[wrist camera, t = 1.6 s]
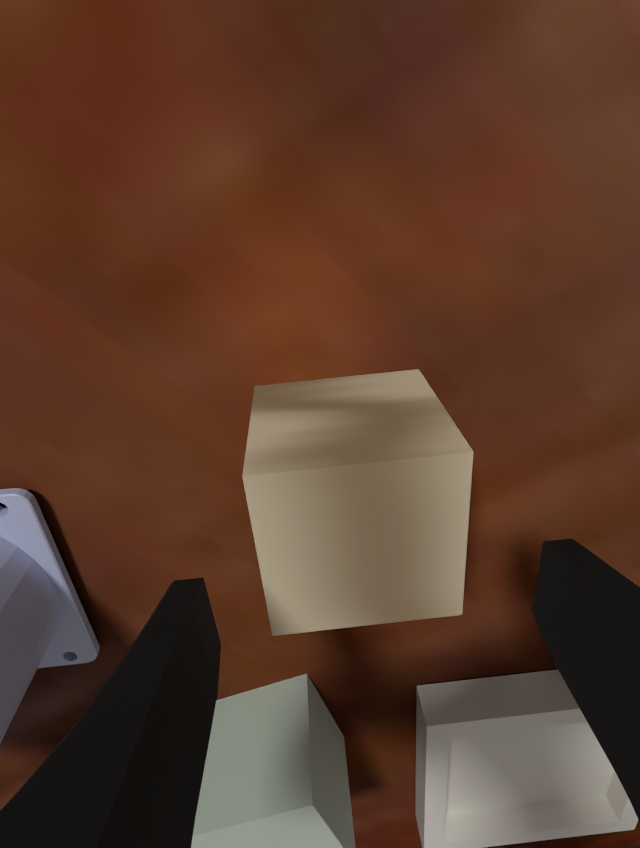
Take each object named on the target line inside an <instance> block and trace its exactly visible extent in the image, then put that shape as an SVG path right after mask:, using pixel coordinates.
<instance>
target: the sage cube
mask: <svg viewBox="0 0 640 848" xmlns="http://www.w3.org/2000/svg"><path fill="white" fill-rule="evenodd" d="M191 848H355V839H354V829H353V820H352V810H351V800H350V790H349V781H348V771H347V761H346V751H345V742H344V736H343V734H342V733H341V731H340V729H339V727H338V726H337V724H336V722H335V721H334V719H333V717H332V716H331V714H330V712H329V711H328V709H327V707H326V705H325V704H324V702H323V700H322V699H321V697H320V695H319V694H318V692H317V690H316V688H315V687H314V685H313V683H312V682H311V680H310V678H309V677H308V675H307V674H304V675H301V676H297V677H294V678H291V679H287V680H284V681H281V682H277V683H274V684H270V685H267V686H264V687H260V688H257V689H254V690H250V691H247V692H243V693H240V694H237V695H233V696H230V697H226V698H223V699H220V700H216V705H215V711H214V717H213V722H212V728H211V734H210V739H209V745H208V750H207V756H206V761H205V767H204V772H203V778H202V783H201V789H200V795H199V800H198V806H197V811H196V817H195V823H194V830H193V837H192V844H191Z"/></svg>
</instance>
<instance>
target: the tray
mask: <svg viewBox="0 0 640 848" xmlns="http://www.w3.org/2000/svg"><path fill="white" fill-rule="evenodd" d="M416 819H417V824H418V829H419V834H420V839H421V844H422V848H484V847H492V846H500V845H509V844H517V843H526V842H534V841H542V840H551V839H559V838H567V837H576V836H584V835H593V834H601V833H609V832H618V831H626V830H634V829H635V827H636V824H637V822H638V820H639V819H638V817H637V815H636V813H635V811H634V809H633V806H632V804H631V802H630V800H629V798H628V796H627V794H626V792H625V790H624V788H623V786H622V784H621V782H620V780H619V778H618V776H617V774H616V772H615V771H614V769H613V767H612V765H611V763H610V762H609V760H608V758H607V756H606V754H605V753H604V751H603V749H602V747H601V746H600V744H599V742H598V740H597V738H596V737H595V735H594V733H593V731H592V729H591V728H590V726H589V724H588V722H587V721H586V719H585V717H584V715H583V713H582V712H581V710H580V708H579V706H578V705H577V703H576V701H575V699H574V697H573V696H572V694H571V692H570V690H569V688H568V687H567V685H566V683H565V681H564V679H563V677H562V676H561V674H560V672H559V670H549V671H540V672H532V673H523V674H514V675H505V676H497V677H488V678H479V679H470V680H461V681H453V682H444V683H435V684H426V685H418V686H417V691H416Z"/></svg>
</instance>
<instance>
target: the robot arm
mask: <svg viewBox="0 0 640 848" xmlns="http://www.w3.org/2000/svg"><path fill="white" fill-rule="evenodd" d="M0 503H2V504H4V505H6V506H7V508H4V507H2V506H0V743H1V741H2V739H3V737H4V735H5V733H6V731H7V729H8V727H9V725H10V723H11V721H12V719H13V717H14V715H15V713H16V711H17V709H18V707H19V705H20V703H21V701H22V699H23V697H24V695H25V693H26V691H27V689H28V687H29V685H30V683H31V681H32V679H33V677H34V674H35V672H36V670H37V668H45V667H54V666H63V665H72V664H81V663H88V662H92V661H93V660H95V659H96V657H97V655H98V653H99V650H100V647H99V644H98V641H97V639H96V637H95V634H94V632H93V630H92V627H91V625H90V623H89V621H88V618H87V616H86V614H85V611H84V609H83V607H82V604H81V602H80V600H79V597H78V595H77V593H76V590H75V588H74V586H73V583H72V581H71V579H70V577H69V574H68V572H67V570H66V567H65V565H64V563H63V560H62V558H61V556H60V553H59V551H58V549H57V546H56V544H55V542H54V540H53V537H52V535H51V533H50V530H49V528H48V526H47V523H46V521H45V519H44V516H43V514H42V512H41V509H40V507H39V505H38V502H37V500H36V498H35V497H34V495H33V494H31V493H30V492H29V491H27V490H24V489H21V488H11V489H2V490H0ZM532 611H533V613H534V616H535V619H536V621H537V624H538V626H539V629H540V631H541V634H542V636H543V638H544V641H545V643H546V645H547V648H548V650H549V652H550V655H551V657H552V659H553V661H554V663H555V665H556V667H557V668H558V670H559V672H560V674H561V676H562V677H563V679H564V681H565V683H566V685H567V687H568V688H569V690H570V692H571V694H572V696H573V697H574V699H575V701H576V703H577V705H578V706H579V708H580V710H581V712H582V713H583V715H584V717H585V719H586V721H587V722H588V724H589V726H590V728H591V729H592V731H593V733H594V735H595V737H596V738H597V740H598V742H599V744H600V746H601V747H602V749H603V751H604V753H605V754H606V756H607V758H608V760H609V762H610V763H611V765H612V767H613V769H614V771H615V772H616V774H617V776H618V778H619V780H620V782H621V784H622V786H623V788H624V790H625V792H626V794H627V796H628V798H629V800H630V802H631V804H632V806H633V809H634V811H635V813H636V815H637V817H638V819H639V822H640V587H638V586H637V585H635V584H634V583H633V582H631V581H630V580H629V579H627V578H626V577H624V576H623V575H622V574H620V573H619V572H618V571H616V570H615V569H613V568H612V567H611V566H609V565H608V564H607V563H605V562H604V561H603V560H601V559H600V558H598V557H597V556H596V555H594V554H593V553H592V552H590V551H589V550H588V549H586V548H585V547H583V546H582V545H580V544H579V543H578V542H576V541H575V540H573V539H564V540H555V541H545V542H543V547H542V554H541V560H540V566H539V572H538V578H537V585H536V591H535V597H534V603H533V610H532ZM220 649H221V643H220V639H219V635H218V631H217V628H216V624H215V620H214V616H213V612H212V609H211V605H210V601H209V597H208V594H207V590H206V586H205V582H204V578H196V579H186V580H177V581H174V582H173V583H172V584H171V585H170V587H169V588H168V590H167V591H166V593H165V595H164V596H163V598H162V599H161V601H160V603H159V604H158V606H157V607H156V609H155V611H154V612H153V614H152V615H151V617H150V618H149V620H148V622H147V623H146V625H145V626H144V628H143V629H142V631H141V632H140V634H139V635H138V637H137V638H136V640H135V641H134V643H133V644H132V646H131V647H130V649H129V650H128V652H127V653H126V654H125V656H124V657H123V659H122V660H121V662H120V663H119V665H118V666H117V667H116V669H115V670H114V672H113V673H112V675H111V676H110V677H109V679H108V680H107V682H106V683H105V684H104V686H103V687H102V688H101V690H100V691H99V692H98V694H97V695H96V696H95V698H94V699H93V700H92V702H91V703H90V704H89V706H88V707H87V708H86V710H85V711H84V712H83V714H82V715H81V716H80V718H79V719H78V720H77V722H76V723H75V724H74V725H73V727H72V728H71V729H70V730H69V732H68V733H67V734H66V735H65V737H64V738H63V739H62V740H61V742H60V743H59V744H58V745H57V747H56V748H55V749H54V750H53V751H52V753H51V754H50V755H49V756H48V757H47V759H46V760H45V761H44V762H43V763H42V764H41V766H40V767H39V768H38V769H37V770H36V771H35V773H34V774H33V775H32V776H31V777H30V778H29V780H28V781H27V782H26V783H25V784H24V785H23V786H22V787H21V789H20V790H19V791H18V792H17V793H16V794H15V795H14V796H13V797H12V798H11V799H10V801H9V802H8V803H7V804H6V805H5V806H4V807H3V808H2V809H1V810H0V848H191V844H192V837H193V830H194V823H195V817H196V811H197V806H198V800H199V795H200V789H201V783H202V778H203V772H204V767H205V761H206V756H207V750H208V745H209V739H210V734H211V728H212V722H213V717H214V711H215V705H216V699H217V692H218V679H219V665H220Z"/></svg>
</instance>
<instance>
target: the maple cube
mask: <svg viewBox="0 0 640 848" xmlns="http://www.w3.org/2000/svg"><path fill="white" fill-rule="evenodd" d="M472 464H473V450H472V449H471V447H470V446H469V444H468V443H467V441H466V440H465V438H464V437H463V435H462V434H461V432H460V431H459V429H458V428H457V426H456V425H455V423H454V422H453V420H452V419H451V417H450V416H449V414H448V413H447V411H446V410H445V408H444V407H443V405H442V404H441V402H440V401H439V399H438V398H437V396H436V395H435V393H434V392H433V390H432V389H431V387H430V386H429V384H428V383H427V381H426V380H425V378H424V377H423V375H422V374H421V372H420V371H419V369H417V370H407V371H397V372H388V373H378V374H368V375H359V376H349V377H339V378H329V379H320V380H310V381H300V382H291V383H281V384H271V385H262V386H255V388H254V395H253V402H252V410H251V417H250V424H249V432H248V439H247V446H246V453H245V461H244V468H243V475H242V477H243V482H244V488H245V493H246V498H247V504H248V509H249V514H250V519H251V525H252V530H253V535H254V541H255V546H256V551H257V556H258V562H259V567H260V572H261V578H262V583H263V588H264V593H265V599H266V604H267V609H268V615H269V620H270V625H271V630H272V636H276V635H285V634H294V633H303V632H312V631H321V630H330V629H339V628H348V627H357V626H366V625H375V624H383V623H392V622H401V621H410V620H419V619H428V618H437V617H446V616H455V615H462V609H463V595H464V580H465V566H466V551H467V537H468V522H469V508H470V493H471V478H472Z"/></svg>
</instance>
